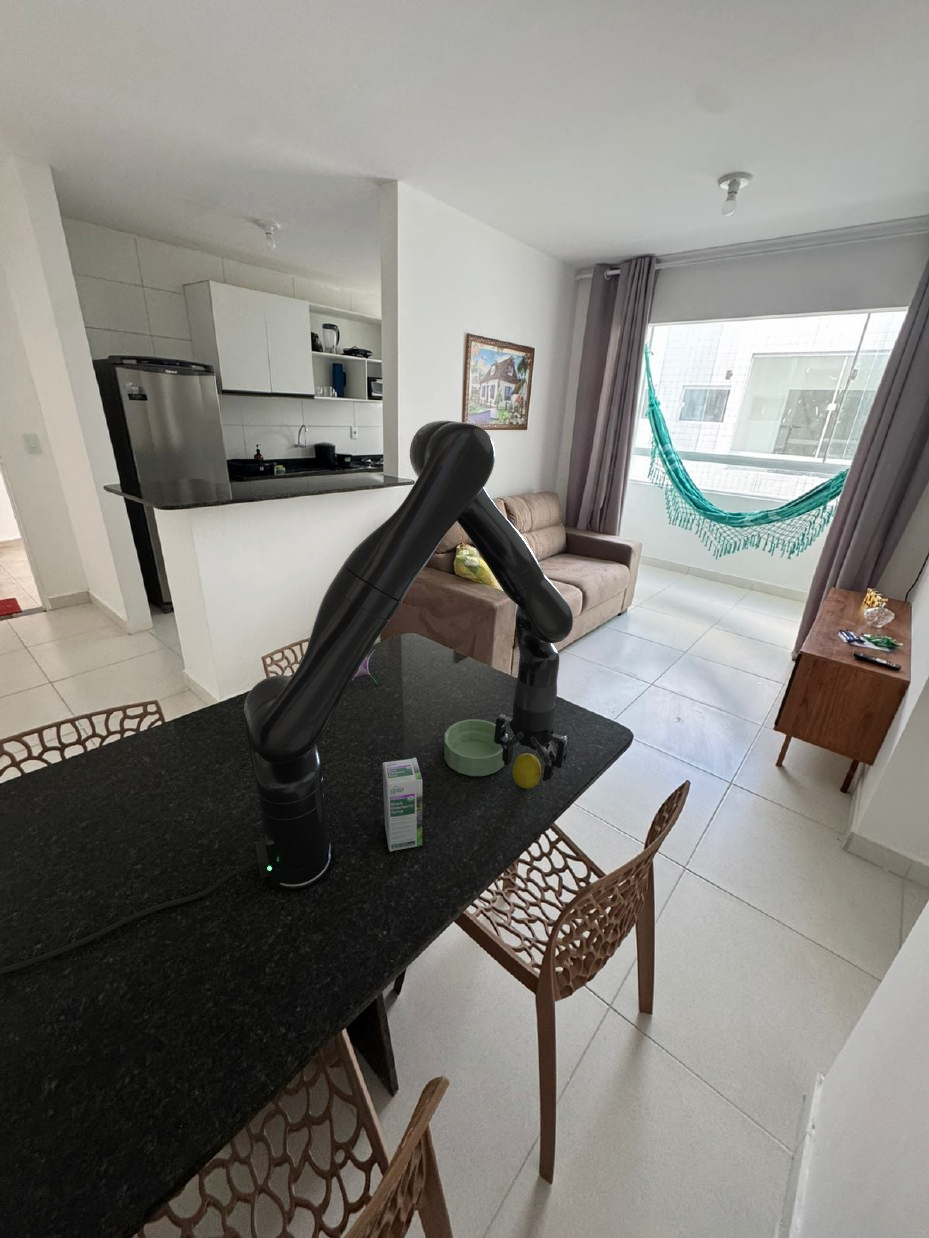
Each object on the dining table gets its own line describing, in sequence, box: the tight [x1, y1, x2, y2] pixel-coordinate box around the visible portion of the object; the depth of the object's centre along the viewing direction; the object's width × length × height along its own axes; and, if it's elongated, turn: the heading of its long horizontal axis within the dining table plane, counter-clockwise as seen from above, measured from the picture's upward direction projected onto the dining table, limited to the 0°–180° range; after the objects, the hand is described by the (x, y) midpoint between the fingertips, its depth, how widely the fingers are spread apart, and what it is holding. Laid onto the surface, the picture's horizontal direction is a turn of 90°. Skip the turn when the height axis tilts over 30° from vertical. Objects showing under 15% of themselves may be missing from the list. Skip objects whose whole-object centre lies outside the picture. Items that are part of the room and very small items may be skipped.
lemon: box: [511, 752, 542, 790], centre depth 99 cm, size 6×6×8 cm
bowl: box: [443, 718, 508, 777], centre depth 107 cm, size 13×13×5 cm
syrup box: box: [382, 757, 423, 853], centre depth 86 cm, size 6×6×14 cm
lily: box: [351, 650, 379, 686], centre depth 132 cm, size 12×12×10 cm
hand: (527, 770), depth 99 cm, fingers open, 7 cm apart
